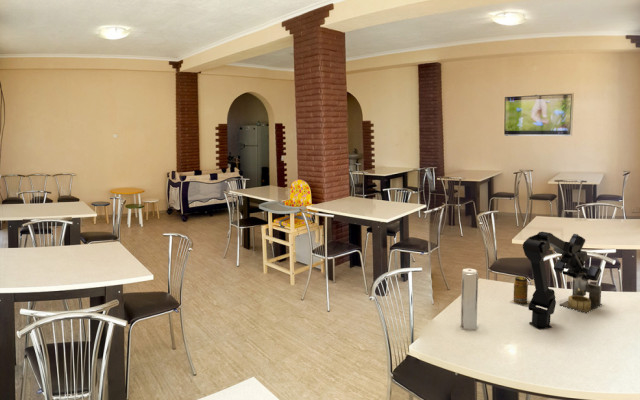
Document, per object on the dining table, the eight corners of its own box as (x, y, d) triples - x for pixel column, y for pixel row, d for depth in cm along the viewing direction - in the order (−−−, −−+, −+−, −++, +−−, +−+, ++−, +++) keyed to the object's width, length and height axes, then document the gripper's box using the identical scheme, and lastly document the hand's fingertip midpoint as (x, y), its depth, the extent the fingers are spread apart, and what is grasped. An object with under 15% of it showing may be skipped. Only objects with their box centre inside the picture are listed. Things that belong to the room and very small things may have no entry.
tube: (582, 296, 213) (583, 271, 211) (572, 293, 217) (573, 269, 215) (587, 294, 215) (589, 270, 213) (577, 291, 219) (579, 267, 217)
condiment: (517, 298, 229) (518, 274, 227) (534, 302, 222) (535, 278, 221) (509, 302, 224) (510, 278, 223) (526, 306, 218) (527, 282, 216)
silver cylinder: (477, 330, 194) (479, 272, 190) (461, 329, 195) (462, 272, 191) (475, 324, 200) (477, 267, 196) (460, 323, 201) (461, 267, 198)
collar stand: (586, 313, 208) (587, 292, 207) (559, 305, 218) (560, 285, 217) (601, 305, 217) (602, 285, 216) (575, 298, 227) (576, 279, 225)
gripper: (601, 249, 203) (610, 269, 211) (558, 242, 218) (568, 261, 226) (591, 271, 199) (601, 290, 207) (548, 261, 214) (559, 280, 222)
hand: (582, 279), depth 216 cm, fingers closed on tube, 5 cm apart
